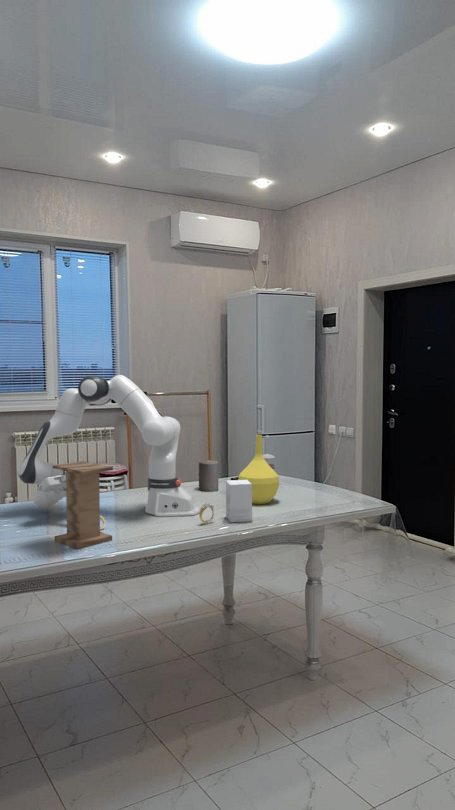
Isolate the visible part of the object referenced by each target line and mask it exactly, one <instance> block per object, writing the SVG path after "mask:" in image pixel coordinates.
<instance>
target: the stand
mask: <svg viewBox="0 0 455 810" xmlns="http://www.w3.org/2000/svg"><path fill="white" fill-rule="evenodd" d="M53 468H55V469H59V470H64V471H65V473H66V500H65V501H66V533H63V534H59V535H54V542H57V543H59V544H62V543H63V544H62V545H64V546H67V545H68V547H70V548H73V549H76V550H81V549H84V548H88V547H91V546H92V547H93V546H95V545H99V544H103V542H104V543H107V542H110V541H111V542H112V541H113V535H111V534H108V533H105V532H102V531H101V530H100V527H101V523H100V522H101V519H100V516H101V510H100V509H101V508H100V507H101V506H100V502H101V501H100V473H102V472H109V471H113V470H114V466H110V465H104V464H99V463H98V464H97V463H95V462H89V461H88V462H87V461H83V460H81V461H76V462H75V461H74V462H67V463H60V464H58V465H53Z"/></svg>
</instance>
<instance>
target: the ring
mask: <svg viewBox="0 0 455 810" xmlns="http://www.w3.org/2000/svg"><path fill="white" fill-rule="evenodd" d="M207 508H209V509H211V512H212V515H211V518H210V519H208V520H205V519H203V516H202V515H203V513H204V511H206V509H207ZM199 509H200V511H199V513H198V518H199V520H200V521H201V522H202V523H204V524H207V523H208V524H210V523H211V522H212V521H214V519H215V516H216V509H215V507H214V505H212V504H211V502H208V503H207V502H204V503H203V504H202V505H201V506H200V507H199Z"/></svg>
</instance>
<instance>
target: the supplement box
mask: <svg viewBox="0 0 455 810" xmlns="http://www.w3.org/2000/svg"><path fill="white" fill-rule="evenodd" d="M225 493H226V494H225V502H226V503H225V517H226V519H227V518H228V519H227V520H228V521H229V523H242V522H245V523H246V522H252V521H253V503H252V484H251V483H250V482H249V481H248V480H238V479H235V480H234V479H233V480H230V479H228V480H226V481H225Z"/></svg>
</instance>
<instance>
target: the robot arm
mask: <svg viewBox="0 0 455 810" xmlns="http://www.w3.org/2000/svg"><path fill="white" fill-rule="evenodd" d="M111 400H113V401H114V402H115V403H116V404H117V405H118V407H120V408H121V409H122V410H123V412H125V414H127V416H128V417H129V419H131V420H132V421H133V422H134V424H135V425H136V427H137V428H138V430H139V431H140V433H141V436H142V439H143V441H144V442H145V443H146V444H147V445H149V446H151V452H150V455H149V457H148V478H147V492H148V495H147V502H146V506H145V510H144V512H145V513H146V514H149V515H154V516H155V517H181V516H182V517H183V516H184V517H185V516H187V517H188V516H195V515H199V511H200V506H198V505H195V500H194V497H193V495H192V494H191V493H190V492H189V491H187V490H186V489H185V488H184V487H182V486H181V483H182V482H181V478H179V477H177V476H176V475H177V473H176V470H177V467H176V465H177V462H176V461H177V452H178V445H179V438H180V434H181V425H180V421H179V420H177V419H176V418H174V417H172V416H167V415H166V416H162V415H161V414H160V413H159V412H158V410H157V409H156V407H155V405H154V402H153V400H151V398H149V397H148V395H147V394H145V392H144V391H143V390H141V388H140V387H139V386H138V385H137V384H135V383H134V381H132V380H131V379H129V378H128V377H127V376H125V375H123V374H117V375H115V376H113V377H112V378H111V379H110V380H107V379H106V378H103V377H100V376H96V375H89V376H85V377H83V378H81V380H80V381H79V383H78V385H77V388H73V387H70V388H66V389H65V390H64V391H63V393H62V394H61V397H60V399H59V401H58V404H56V405H57V406H56V409H55V412H54V415H52V417H51V418H50V420H48V421H46V422H44V423H43V424H42V425H41V427H40V428H39V430H38V432H37V434H36V435H35V438H34V440H33V442H32V444H31V446H30V448H29V450H28V452H27V453H26V456H25V458H24V459H23V460H22V461H21V464H20V466H19V467H18V471H17V472H18V473H17V475H18V478H19V479H20V480H21V481H22V482H23V483H24V484H29V485H38V487H37V488H36V490H37V491H36V492H35V494H34V496H33V503H34V504H35V506H37V508H40V509H49V508H51V507H53V506H54V505H56V504H58V502H60V500H62V499H63V498H65V497H66V471H64V470H59V469H55V468H53V465H59V464H58V463H53V462H48V461H43V460H40V456H41V454H42V452H43V450H44V448H45V446H46V444H47V442H48V441H50V440H51V439H53V438H58V437H66V436H69V435H72V434H74V433H75V432H76V431H78V429H79V428H80V426H81V423H82V418H83V415H84V412H85V409H86V408H87V407H88V406H89V407H90V406H92V407H93V406H104V405H106V404H108V403H109V402H110V401H111Z"/></svg>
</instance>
